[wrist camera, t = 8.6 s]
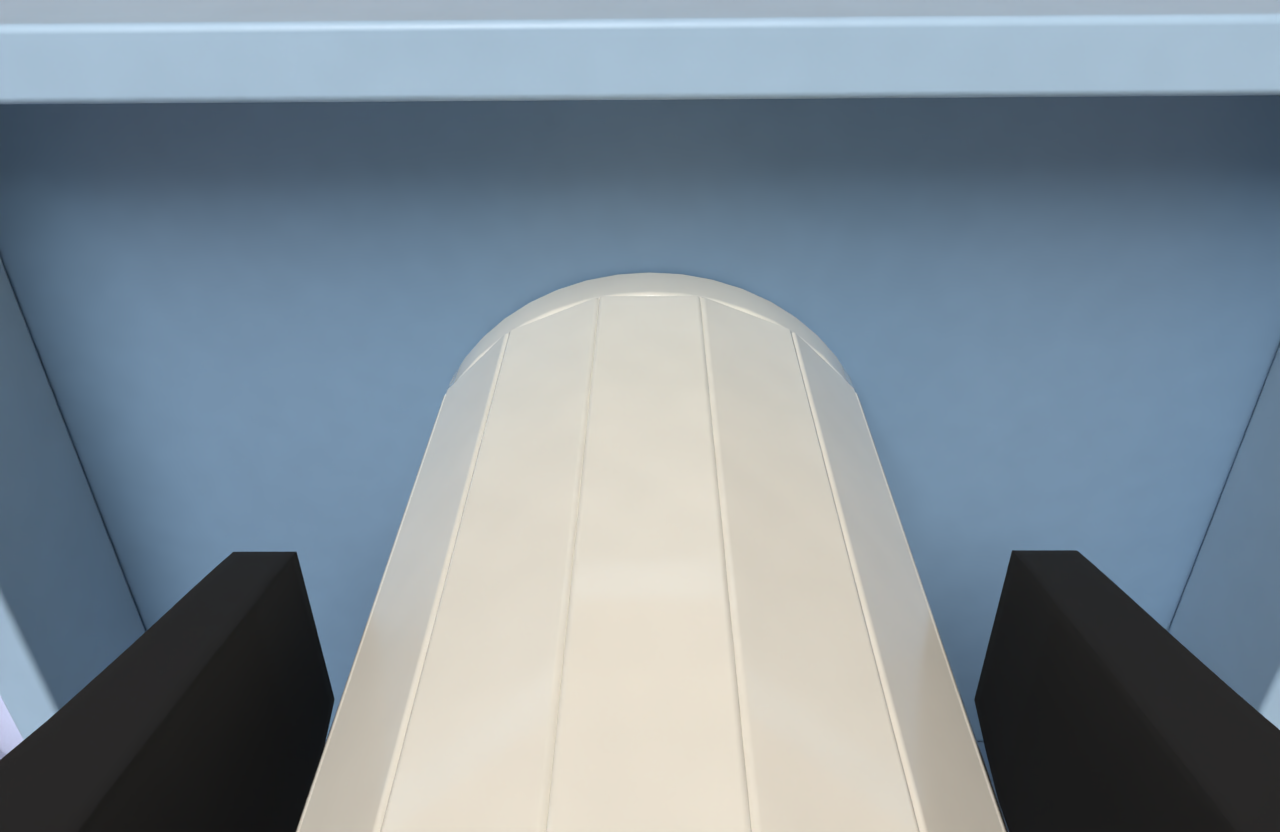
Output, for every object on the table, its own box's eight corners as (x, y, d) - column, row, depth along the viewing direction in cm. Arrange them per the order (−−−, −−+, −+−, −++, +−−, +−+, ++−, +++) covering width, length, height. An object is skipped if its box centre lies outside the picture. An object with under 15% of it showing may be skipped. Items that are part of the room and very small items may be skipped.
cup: (459, 625, 13) (307, 1291, 7) (406, 270, 10) (93, 892, 5) (844, 624, 13) (1000, 1298, 7) (895, 268, 10) (1212, 895, 5)
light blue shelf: (210, 664, 17) (17, 1048, 12) (-39, -48, 11) (-658, 100, 6) (1102, 665, 16) (1302, 1055, 11) (1354, -61, 10) (2007, 79, 5)
